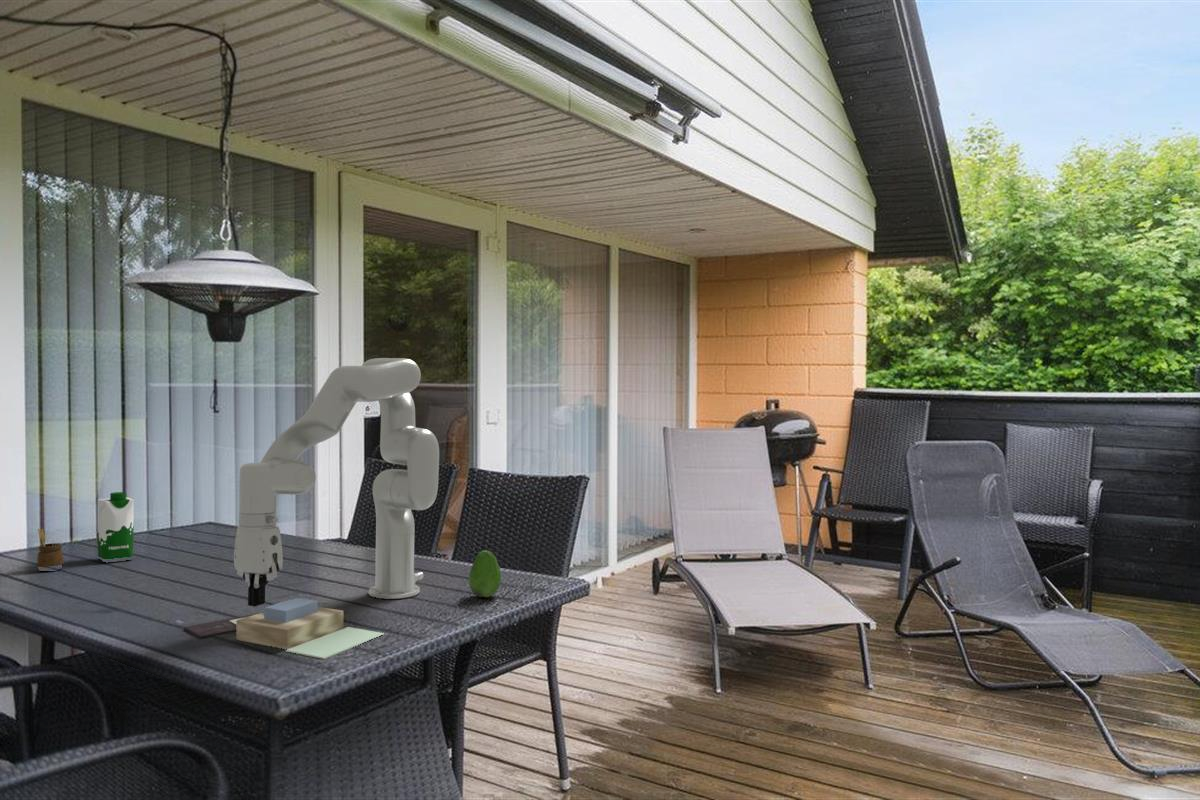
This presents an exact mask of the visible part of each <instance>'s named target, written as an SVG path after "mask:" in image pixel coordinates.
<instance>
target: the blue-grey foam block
mask: <svg viewBox="0 0 1200 800" xmlns="http://www.w3.org/2000/svg"><path fill="white" fill-rule="evenodd" d="M318 604H319V601H318V600H312V599H306V598H300V597H294V598H290V599H287V600H283V601H281V602H278V603H275V604H271V605H268V606H264V611H263V612H264V619H268V620H274V621H279V622H285V623H287V622H290V621H293V620H296V619H299V618H302V617H305V616H308V615H311V614H314V613H317V612H318V607H319V605H318Z"/></svg>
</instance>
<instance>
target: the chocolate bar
mask: <svg viewBox="0 0 1200 800" xmlns="http://www.w3.org/2000/svg"><path fill="white" fill-rule="evenodd" d="M259 613H260V612H258V613H253V614H247V615H243V616H241V615H240V616H238V617H232V618H227V619H221V620H216V621H210V622H204V623H200V624H194V625H187V626H184V627H183V630H184V631H185V630H186V631H185V632H187V631H188V632H187V633H189V634H190V635H192V634H193V635H192V636H194V635H195V637H196V636H197V637H196V638H197V639H200V640H204V639H208V637H209V638H213V637H212V636H214V637H218V635H219V636H224V635H228V633H229V634H234V633H236V624H237V620H239V619H243V618H246V617H249V616H253V615H256V614H259ZM233 632H234V633H233ZM223 634H224V635H223ZM203 638H204V639H203Z"/></svg>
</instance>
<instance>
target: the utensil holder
mask: <svg viewBox="0 0 1200 800" xmlns="http://www.w3.org/2000/svg"><path fill="white" fill-rule="evenodd" d="M56 530H57V532H56ZM37 531H38V536H39V539H40V540H41V542H42V544H40V545H39V548H38V550H39V552H38V554H37V566H38V567H49V566H58V565H62V564H63V565H64V553H63V550H62V547H63V546H62V543H60V541H61V538H62V530H61V529H59V528H58V529H55V530H53V531H52V533H51V534H52V536H51V539H50V540H51V543H45V540H46V536H45V533H44V529H43V528H37ZM58 531H59V536H60V537H59V540H58V541H57V540H55V542H53V536H55V535H54V534H55V532H56V533H58ZM57 536H58V535H56V536H55V539H57Z"/></svg>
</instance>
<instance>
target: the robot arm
mask: <svg viewBox="0 0 1200 800" xmlns="http://www.w3.org/2000/svg"><path fill="white" fill-rule="evenodd" d="M421 378H422V373H421V369H420V367H419V366H418V364H417V363H416V362H415V361H413V360H412V359H410V358H404V357H392V358H391V357H390V358H389V357H378V358H377V357H376V358H370V359H368V360H366V361H364V362H363V363H362V365H342V366H339V367H337V368H335V369H333V371H332V372H331V373H330V374H329V376H328V377H327V379H326V381H325V382H324V383H323V385H322V387H321V389H320V390H319V392H318V393H317V395H316V396H315V398H314V399H313V401H312V403H311V404H310V406H309V408H308V409H307V410H306V412H305V414H303V416H302V417H301V418H299V419H297V420H296V421H295V422H294V423H292V425H290V426H289V427H288V428H287V429H286V430H284V431H283V432H282V433H280V434H279V436H278V437H276V439H275V440H274V441H273V442H272V443H271V445H270V447H269V448H268V450H267V451H266V452H265V454H264V456H263V458H261V461H260V462H248V463H244V464H243V465H241V466H240V469H239V478H238V479H239V482H238V483H239V484H238V485H239V488H238V490H239V492H238V494H239V495H238V526H237V529H236V533H235V540H234V549H233V551H234V553H233V564H234V568H235V570H236V575H238V576H240V577H241V578H243V579H244V581H245V586H246V587H247V605H248V606H249V607H258V606H261V605H265V603H266V586H268V583H269V582H270V581H273V580H277V579H278V578H279V577H278V572H281V571H282V570H283V565H284V564H283V563H284V561H283V559H284V558H283V543H282V536H281V535H282V534H281V530H280V528H279V526H277V523H278V521H279V518H278V516H277V509H278V508H277V506H278V505H277V502H278V500H277V497H278V495H290V496H292V495H293V496H294V495H295V496H298V495H302V494H305V493H307V492H308V491H310V490H311V489H312V488H313V486H314V485H315V482H316V473H315V470H314V468H313V466H311V465H310V464H308V463H307V462H305V461H301V460H298V459H299V457H300V456H301V455H302V454H304V452H306V451H307V450H308V449H310V448H312V447H313V446H316V445H318V444H320V443H322V442H325V441H327V440H330V439H331V438H333V437H335V436H336V435H338V433H339V432H340V431H341V430H342V429H341V428H342V427H343V425H344V424H345V422H346V420H347V419H348V417H349V415H350V413H351V412H352V410H354V409H353V408H354V407H355V406H356V404H357V403H358V402H360V403H361V402H363V403H373V402H378V404H379V408H380V439H379V440H380V441H379V448H380V449H379V451H380V452H379V453H380V456H381V458H382V459H383V460H384V461H385V462H387V463H390V464H394V465H402V466H406V467H407V469H402V468H401V469H399V468H390V469H389V468H388V469H385V470H383V471H381V472H379V474H377V476H376V477H375V479H374V481H373V483H372V497H373V502H374V509H375V526H376V527H375V565H374V566H375V570H374V571H375V574H374V575H375V578H374V579H375V580H374V586H371V587H370V588H369V589H368V595H369V596H370V597H372V598H375V597H376V598H377V599H382V598H383V599H385V600H396V599H407V598H411V597H414V596H417V595H418V594H419V593H420V590H421V589H420V586H418V585H417V584H416V582H417V581H420V580H422V579H424V573H423V572H422V571H419V572H415V532H416V531H415V530H416V529H415V528H416V527H415V518H414V514H413V512H412V510H413V511H414V510H415V511H425V510H428V509H429V508H430V507H432V505H433V504H434V503H435V501H436V499H437V497H438V496H437V495H438V490H439V474H440V473H439V471H440V445H439V442H438V439H437V437H436V435H435V433H433V432H432V431H430V430H429V429H426V428H421V427H416V406H415V405H416V404H415V401H414V399H413V397H412V396H413V395H412V394H411V392H412V391H414V390H415V389H417V387H418V386H419V384H420V382H421ZM383 599H382V600H383Z"/></svg>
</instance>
